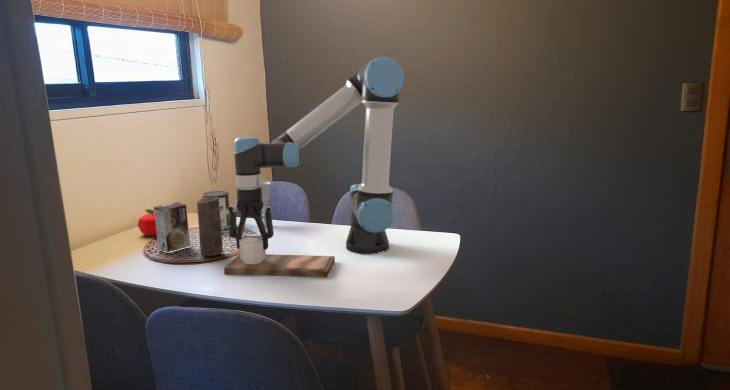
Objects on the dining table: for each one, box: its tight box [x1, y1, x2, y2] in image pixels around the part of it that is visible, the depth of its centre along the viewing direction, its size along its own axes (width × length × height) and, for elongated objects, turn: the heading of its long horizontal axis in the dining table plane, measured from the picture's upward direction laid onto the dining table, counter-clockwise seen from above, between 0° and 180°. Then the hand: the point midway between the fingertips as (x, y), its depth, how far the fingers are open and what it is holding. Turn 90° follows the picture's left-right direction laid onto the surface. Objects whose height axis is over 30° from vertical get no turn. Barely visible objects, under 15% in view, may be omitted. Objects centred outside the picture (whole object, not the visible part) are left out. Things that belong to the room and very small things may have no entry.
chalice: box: [260, 181, 271, 229], centre depth 213 cm, size 7×7×18 cm
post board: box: [223, 253, 336, 278], centre depth 166 cm, size 32×14×8 cm, turn 83°
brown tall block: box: [196, 197, 224, 257], centre depth 178 cm, size 8×7×20 cm
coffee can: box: [201, 190, 230, 229], centre depth 214 cm, size 10×10×14 cm
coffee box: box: [153, 201, 191, 252], centre depth 185 cm, size 9×6×16 cm
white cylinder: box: [242, 233, 263, 264], centre depth 167 cm, size 6×6×8 cm
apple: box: [137, 209, 157, 237], centre depth 205 cm, size 11×11×10 cm
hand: (253, 258), depth 168 cm, fingers closed on white cylinder, 6 cm apart
